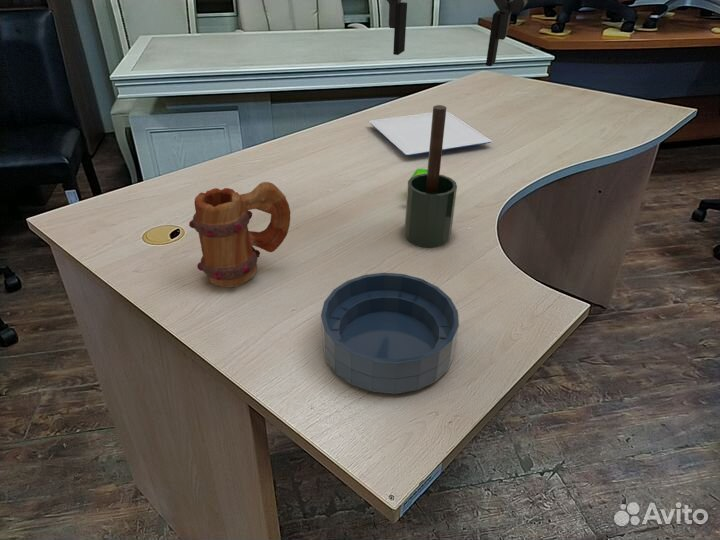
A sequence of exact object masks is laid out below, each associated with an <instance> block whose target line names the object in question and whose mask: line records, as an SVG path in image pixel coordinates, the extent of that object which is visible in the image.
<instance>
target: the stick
mask: <svg viewBox="0 0 720 540" xmlns="http://www.w3.org/2000/svg"><path fill="white" fill-rule="evenodd" d="M446 111H447V106H445V105H442V104H441V105H440V104H436V105H433V107H432V112H433V115H432V126H431V137H430V148H429V153H428V161H427V169H426V170H427V181H426V192H425V193H429V194H437V193H438V184H439V175H441V174H440V173H441V164H442V154H443V150H442V146H443V137H444V127H445V118H446Z"/></svg>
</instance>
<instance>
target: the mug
mask: <svg viewBox="0 0 720 540" xmlns="http://www.w3.org/2000/svg"><path fill="white" fill-rule="evenodd" d="M286 197H287V196H286V195H285V194H284V193H283V192H282V191H281V189H279V187H277V185H275V184H274V183H272V182H270V181H264V182H260V183H258V185H256V187H254V189H252V190H251V191H250V192H246V193H241V194H240V193H238V192H237V191H235V190H234V189H233V188H230V187H224V188H223V189H220V188H216V187H215V188H212V189H209V190H207V191H205V192H199V193H198V194H197V195H196V197H195V198H194V209H195V213H194V214H193V217H192V219H191V220H190V221H189V223H188V224H189V225H188V226H189V227H190V228H191V229H194V230H195V231H196V233H198V237H199V242H200V247H201V253H202V257H201V258H200V262H198V264H197V265H196V267H197V270H199V271H201V272H203V273H204V275H206V277H207V278H208V281H209V282H210V283H211V284H213V285H215V286H217V287H222V288H233V287H237V286H242V285H243V284H246V283H247V282H249V281H250V280H251V278H253V276H254V275H255V274H256V273H257V272H258V263H257V262H258V259H259V258H260V256H261V252H260V251H259V250H258V249H256V248H259V249H261V250H263V251H265V252H268V253H273V252H275V251H276V250H277V249H278V248H279V247H280V246H281V245H282V244H283V242H284V240H285V239H286V237H287V236H288V232H289V230H290V225H291V208H290V203H289V202H288V200H287V198H286ZM252 210H258V211H261V212H264V213H266V214H270V222H269V223H268V225H267V227H266V228H265V229H264V230H262V231H261V230H260V231H255V230H254V231H253V230H249V226H248V225H249V223H250V220H251V219H252V218H253V212H252ZM254 247H256V248H254Z"/></svg>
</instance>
